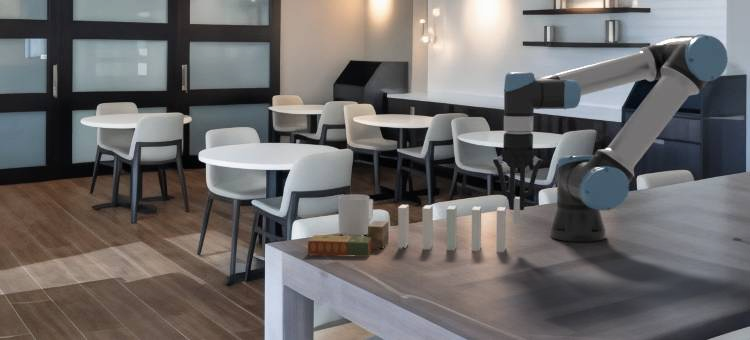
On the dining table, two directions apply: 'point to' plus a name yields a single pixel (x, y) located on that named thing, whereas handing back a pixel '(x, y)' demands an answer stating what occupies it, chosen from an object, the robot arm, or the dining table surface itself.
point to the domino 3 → (451, 227)
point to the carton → (340, 245)
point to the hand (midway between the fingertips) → (516, 222)
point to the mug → (354, 214)
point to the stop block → (379, 233)
